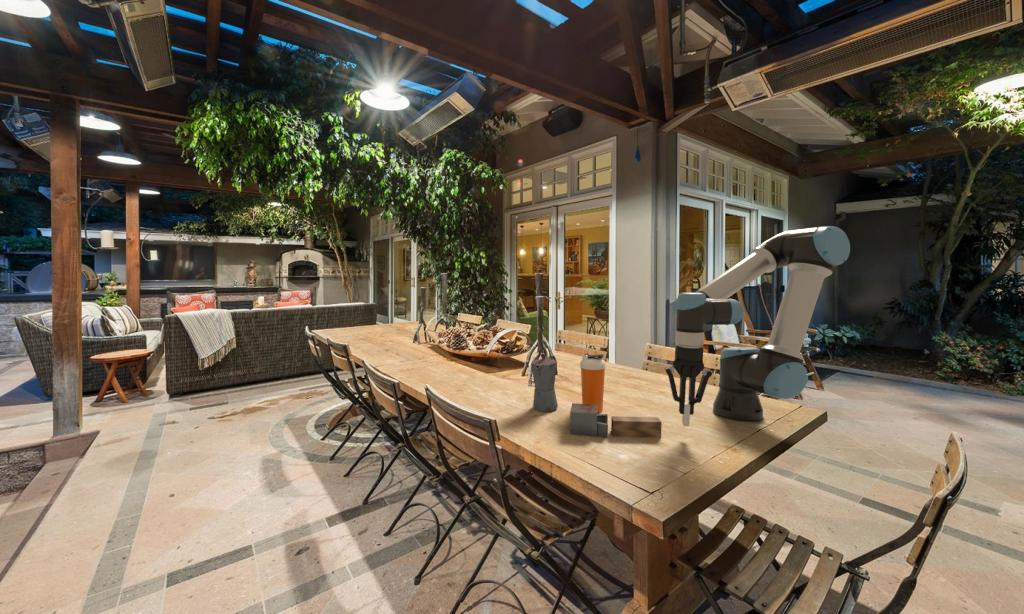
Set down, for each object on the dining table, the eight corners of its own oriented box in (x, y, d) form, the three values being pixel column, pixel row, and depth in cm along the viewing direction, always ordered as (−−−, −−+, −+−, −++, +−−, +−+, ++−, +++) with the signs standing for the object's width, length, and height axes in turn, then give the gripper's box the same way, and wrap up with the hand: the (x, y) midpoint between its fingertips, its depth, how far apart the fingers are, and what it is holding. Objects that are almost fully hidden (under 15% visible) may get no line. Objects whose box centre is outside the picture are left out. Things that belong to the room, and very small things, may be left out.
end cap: (607, 426, 130) (607, 404, 129) (607, 438, 121) (607, 415, 120) (572, 423, 133) (572, 402, 132) (569, 434, 123) (570, 412, 123)
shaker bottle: (605, 414, 140) (606, 357, 139) (579, 413, 142) (579, 357, 140) (604, 406, 149) (605, 352, 147) (580, 405, 151) (580, 352, 149)
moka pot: (525, 412, 143) (525, 357, 141) (539, 400, 157) (539, 349, 156) (551, 416, 139) (551, 359, 138) (563, 402, 154) (563, 350, 152)
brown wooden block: (657, 433, 125) (657, 417, 124) (661, 438, 121) (661, 422, 120) (611, 431, 126) (611, 416, 126) (613, 437, 122) (613, 420, 122)
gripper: (710, 344, 120) (706, 422, 122) (663, 342, 123) (660, 418, 125) (717, 349, 113) (712, 431, 115) (667, 346, 116) (664, 427, 118)
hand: (685, 424), depth 120 cm, fingers closed
